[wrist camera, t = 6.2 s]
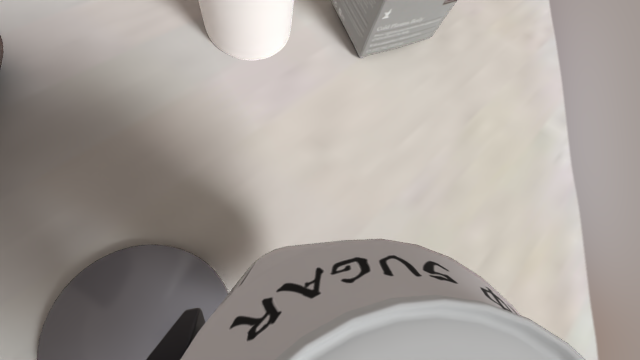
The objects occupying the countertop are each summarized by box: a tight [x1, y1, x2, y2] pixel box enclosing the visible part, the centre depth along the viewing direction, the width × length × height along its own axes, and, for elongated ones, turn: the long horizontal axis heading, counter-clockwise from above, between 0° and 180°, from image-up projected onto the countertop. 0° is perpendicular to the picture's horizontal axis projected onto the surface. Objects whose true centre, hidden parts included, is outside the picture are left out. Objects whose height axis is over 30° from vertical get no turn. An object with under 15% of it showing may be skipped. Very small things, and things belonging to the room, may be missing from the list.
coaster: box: [37, 245, 229, 360], centre depth 19 cm, size 11×11×1 cm
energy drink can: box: [180, 239, 585, 360], centre depth 10 cm, size 6×6×15 cm
